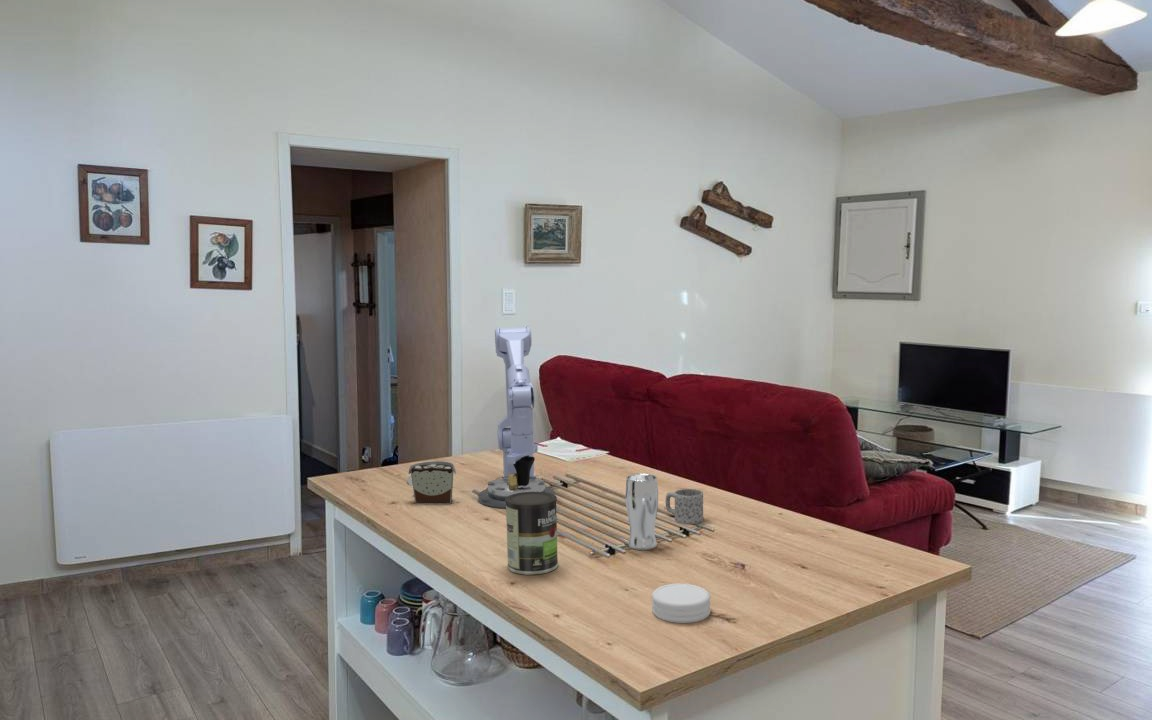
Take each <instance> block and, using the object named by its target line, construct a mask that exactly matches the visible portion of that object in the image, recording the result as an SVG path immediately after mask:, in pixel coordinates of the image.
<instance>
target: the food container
mask: <svg viewBox="0 0 1152 720" xmlns="http://www.w3.org/2000/svg"><path fill="white" fill-rule="evenodd" d="M456 474H457V471H456V467H455V466H454V463H452V462H449V461H440V460H438V461H435V460H434V461H424V462H417V463H415V464H411V465H410V466H409V468H408V475H410V476H411V480H412V485H413V487H412V490H413V497H414V504H415V505H451V504H452V501H453V483H454V475H456Z"/></svg>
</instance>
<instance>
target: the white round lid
mask: <svg viewBox="0 0 1152 720" xmlns="http://www.w3.org/2000/svg"><path fill="white" fill-rule="evenodd" d="M651 600H652V601H651V605H652V607H651V611H652V614H653V615H654V617H656V618H658V619H660V620H662V621H665V622H669V623H675V624H690V623H697V622H700V621H703V620H705V619H707V618H708V617H709V616H710V613H711V595H710V592H708V591H707V590H706V589H705V588H703V587H702V586H699V585H694V584H689V583H670V584H669V583H668V584H664V585H661V586H659V587H656V588H655V590H654V591H652V594H651Z"/></svg>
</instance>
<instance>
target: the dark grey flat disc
mask: <svg viewBox="0 0 1152 720" xmlns="http://www.w3.org/2000/svg"><path fill="white" fill-rule="evenodd" d="M545 492H546V493H551V494H553V495H555V496H556V493H555V490H554V489H553V488H551V487H549V486H545ZM477 497H478V499H477V500H478V502H479V503H480V504H481V505H483V506H485V507H489V508H493V509H494V508H495V509H502V508H506V503H505V500H498V499H493V498H491V497H489V496H488V488H486V489H484V490H481V491H480V492H479V493H478V496H477Z"/></svg>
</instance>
